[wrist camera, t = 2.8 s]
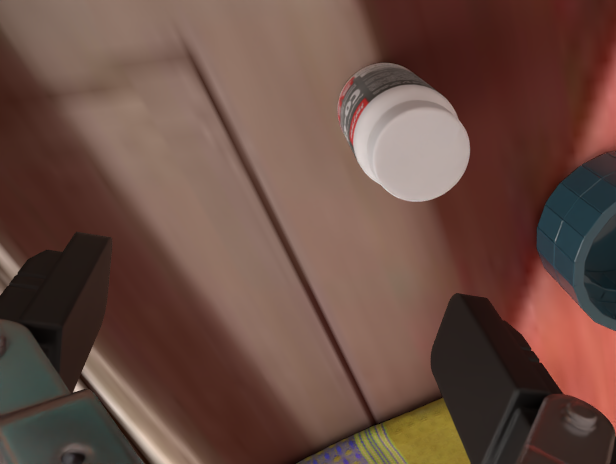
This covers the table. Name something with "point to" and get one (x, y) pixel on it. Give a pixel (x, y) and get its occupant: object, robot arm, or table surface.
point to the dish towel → (401, 441)
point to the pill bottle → (403, 132)
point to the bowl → (584, 237)
